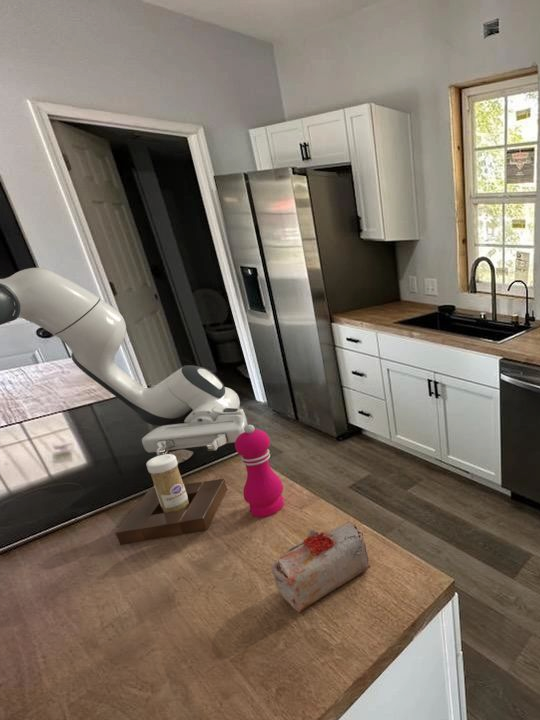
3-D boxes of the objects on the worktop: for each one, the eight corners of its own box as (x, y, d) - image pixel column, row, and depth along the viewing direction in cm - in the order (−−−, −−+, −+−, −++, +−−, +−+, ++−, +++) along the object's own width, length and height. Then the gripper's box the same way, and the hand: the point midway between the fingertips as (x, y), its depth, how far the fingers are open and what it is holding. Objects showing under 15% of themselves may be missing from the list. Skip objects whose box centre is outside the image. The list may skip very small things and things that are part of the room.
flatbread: (159, 472, 99) (157, 468, 99) (149, 461, 104) (148, 457, 103) (198, 458, 106) (197, 454, 105) (187, 448, 110) (186, 445, 109)
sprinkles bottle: (179, 522, 83) (161, 466, 79) (159, 521, 84) (139, 464, 79) (198, 508, 88) (181, 453, 83) (178, 506, 88) (160, 452, 83)
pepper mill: (251, 501, 90) (231, 419, 83) (288, 494, 93) (271, 415, 85) (244, 522, 84) (222, 436, 77) (284, 514, 86) (266, 430, 79)
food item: (294, 622, 64) (283, 574, 60) (274, 592, 68) (263, 546, 65) (374, 571, 73) (368, 527, 69) (352, 549, 78) (345, 506, 74)
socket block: (120, 545, 77) (114, 532, 76) (153, 500, 90) (149, 489, 89) (207, 530, 82) (203, 518, 81) (227, 489, 94) (224, 478, 93)
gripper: (153, 417, 99) (124, 445, 87) (249, 407, 106) (235, 432, 93) (161, 440, 102) (133, 470, 89) (255, 429, 108) (241, 456, 96)
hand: (186, 451), depth 91 cm, fingers open, 8 cm apart
